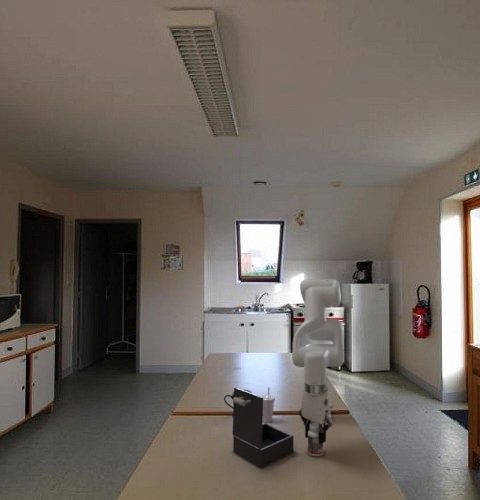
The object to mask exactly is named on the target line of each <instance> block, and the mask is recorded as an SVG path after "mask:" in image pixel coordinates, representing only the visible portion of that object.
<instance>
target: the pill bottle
mask: <svg viewBox="0 0 480 500" xmlns="http://www.w3.org/2000/svg"><path fill="white" fill-rule="evenodd" d="M319 432H320V429H319V425H318V423H315V422H311V424H310V430H309V431H308V438H307V453H308V454H309V455H310V456H312V457H321V456H323V454H324V443H322V444H319Z"/></svg>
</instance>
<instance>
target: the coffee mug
mask: <svg viewBox="0 0 480 500" xmlns="http://www.w3.org/2000/svg"><path fill="white" fill-rule="evenodd" d="M241 389H242V388H241ZM242 390H244V391H247V392H250V393H252V394H253V391H251V390H249V389H245V388H244V389H242ZM227 397H229V398H231V400H232V404H233V403H234V402H233V398H234V390H232V392H231V394H226V395H225V396H224V397H223V401H224V403H225V404H226V405H227V406H228V407H230V408H231V409H233V406H232V405H231V404H229V403H228V402H227V400H226V399H227Z"/></svg>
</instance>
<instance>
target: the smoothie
mask: <svg viewBox="0 0 480 500" xmlns="http://www.w3.org/2000/svg"><path fill="white" fill-rule="evenodd" d="M260 397H263V423H271V422H272V421H273V413H274V407H275V401H276V397H275V396H274V395H271V394H270V386H268V388H267V394H266V395H262V396H260Z"/></svg>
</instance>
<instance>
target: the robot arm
mask: <svg viewBox="0 0 480 500" xmlns="http://www.w3.org/2000/svg"><path fill="white" fill-rule="evenodd" d="M299 291H300V295H301V297H302V300H303V303H304V321H303V323H301V325H300V326H299V327H298V328H297V329H296V331H295V333H294V335H293V339H292V351H291V352H292V353H291V361H292V363H293V365H294V366H295V367H297V368H304V369H303V371H304V372H303V373H304V374H303V375H304V377H303V378H304V379H303V380H304V381H303V382H304V384H303V385H304V386H303V388H304V389H303V391H302V396H301V408H300V409H299V410H298V415H299V416H300V418H301V420H302V422H303V426H304V437H305V438H306V439H308V431H309V430H310V424H311V423H318V425H319V429H320V432H319V444H322V443H323V444H324V443H326V441H327V431H328V430H329V429H330V428H332V427H333V426H334V422H333V419H332V414H331V409H333V408H334V404H333V403H331V402H330V398H329V393H328V392H329V391H328V390H329V388H328V376H327V372H326V369H327V367H328V368H339V367H342V366H343V365H344V361H345V360H344V359H345V356H344V355H345V354H344V351H345V350H344V329H343V324H342V322H341V321H340V320H339V319H337V318H327V308H337V307H339V306H340V305H341V302H342V301H341V300H342V292H341V285H340V281H339V280H338V279H335V278H308V279H307V278H306V279H303V280H302V281H300V284H299ZM305 336H307V338H308V340H310V341H311V340H312V341H318V342H319V341H321V342H332V343H309V344H306V345H305V346H301V345H300V344H301V341H302V339H303V337H305Z"/></svg>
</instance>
